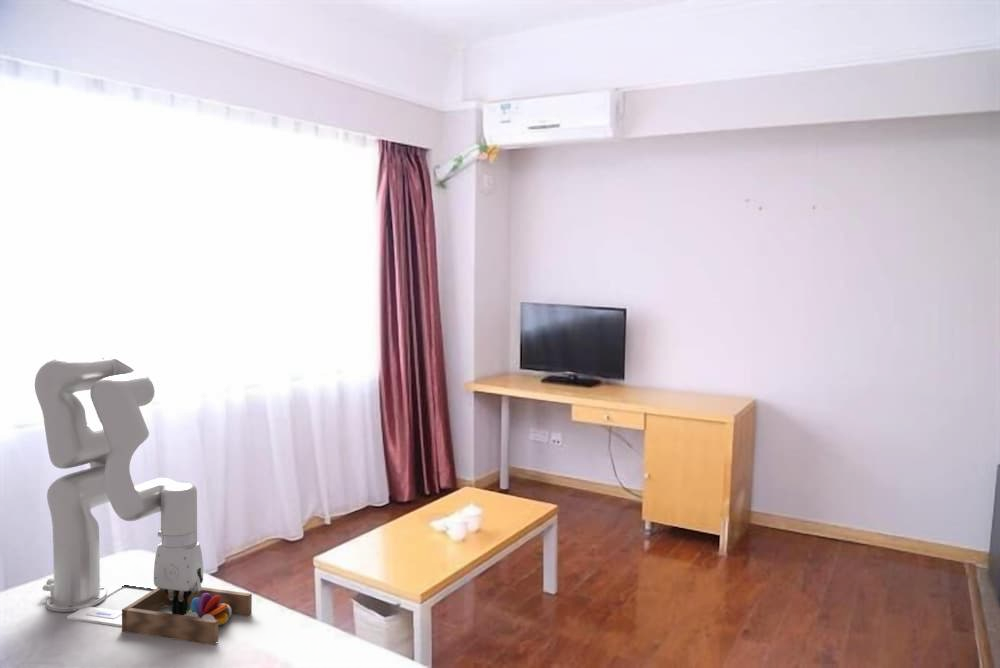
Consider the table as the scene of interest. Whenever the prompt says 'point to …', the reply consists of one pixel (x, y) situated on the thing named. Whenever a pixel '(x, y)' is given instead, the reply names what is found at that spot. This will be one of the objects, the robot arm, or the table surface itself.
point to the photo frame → (101, 613)
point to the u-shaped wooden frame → (180, 616)
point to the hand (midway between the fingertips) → (179, 615)
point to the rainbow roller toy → (209, 608)
